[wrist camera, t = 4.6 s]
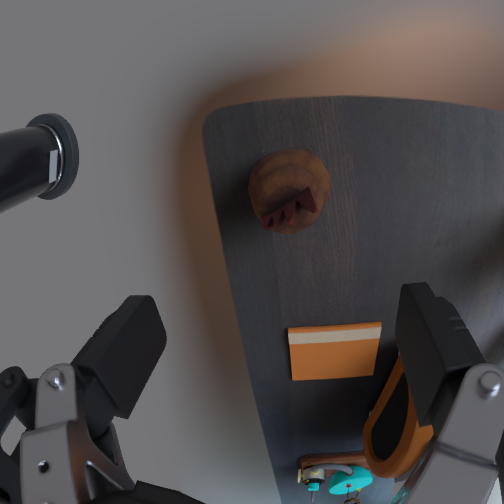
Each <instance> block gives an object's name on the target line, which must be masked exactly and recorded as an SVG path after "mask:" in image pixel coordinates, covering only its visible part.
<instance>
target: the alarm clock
mask: <svg viewBox="0 0 504 504" xmlns="http://www.w3.org/2000/svg"><path fill="white" fill-rule="evenodd" d="M398 355H399V357H398V359H397V361H396V363H395V366H394V368H393V370H392V372H391V374H390V376H389V379H388V381H387V383H386V385H385V387H384V389H383V391H382V393H381V395H380V397H379V399H378V401H377V403H376V405H375V406H374V408H373V410H372V411H370V413H369V418H368V419H367V421H366V423H365V425H364V429H363V446H364V454H365V458H366V461H367V464H368V466H369V468H370V470H371V472H372V473H373V474H375V475H376V476H378V477H382V478H394V479H395V483H403V482H406V480H407V479H408V477H409V475H410V474H411V472H412V471H413V469H414V467H415V466H416V464H417V462H418V461H419V459H420V457H421V455H422V454H423V452H424V450H425V448H426V446H427V445H428V443H429V441H430V439H431V437H432V436H433V434H434V432H433V428H432V425H429V426H424V427H419V424H418V420H417V415H416V411H415V407H414V403H413V399H412V395H411V391H410V388H409V384H408V380H407V377H406V373H405V370H404V366H403V363H402V359H401V356H400V353H399V352H398Z"/></svg>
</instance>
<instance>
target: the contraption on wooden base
mask: <svg viewBox="0 0 504 504" xmlns="http://www.w3.org/2000/svg"><path fill="white" fill-rule="evenodd" d="M299 468H300V469H299V471H298V483H300V477H303V482H302V483H303V484H305V485H308V490H309V491H312V494H311V502H314V491H317V490H319V485H320V484H323V483H324V482H325V480H324V478H325V476H330V475H333V477H332V479H331V482H330V486H329V492H330V493H332V494H345V493H348V495H347V498H348V500H346V501H345V502H344V504H347V503H348V502H351V501H356V503H354V504H359V499H357V497H358V494H359V490H360V489H361V488H363V487H365V486H367V485H369V484H370V483H371V482H372V481H373V478H372V476H371V473H370V472H369V471H368V470H370V468H369V466H368V464H367V461H366V458H365V454H364V451H355V452H345V453H332V454H313V455H305V456H304V457H302V458H300V459H299ZM301 473H302V474H303V475H301ZM355 490H356V491H357V490H358V493H357V496H356V498H351V499H350V498H349V492H352V491H355Z"/></svg>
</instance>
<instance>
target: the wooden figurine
mask: <svg viewBox="0 0 504 504" xmlns="http://www.w3.org/2000/svg"><path fill="white" fill-rule="evenodd" d="M330 190H331V182H330V177H329V172H328V171H327V169H326V167H325V166H324V164H323V162H322V161H321V159H320V158H319V157H318V156H316V155H315V154H313V153H312V152H310V151H309V150H305V149H290V150H283V151H279V152H276V153H272V154H270V155H268V156H266V157H264V158H262V159H260V160H259V161H258V162H257V164H256V165H255V167H254V169H253V170H252V172H251V174H250V177H249V185H248V191H249V194H250V198H251V202H252V205H253V208H254V212H255V215H256V216H257V217H258V219H259V220H260V221H261V222H262V224H263V226H264V227H265V229H266V230H267V231H268V230H270V229H271V230H273V231H276V232H280V233H290V234H294V233H297V232H300V231H302V230H304V229H306V228H307V227H309V226H310V225H311V224H313V223H314V222H315V221H316V219H317V218H318V217H319V215H320V214H321V212H322V208H323V207H324V206H325V204H326V203H327V202H328V200H329V196H330Z"/></svg>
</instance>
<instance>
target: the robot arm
mask: <svg viewBox="0 0 504 504" xmlns="http://www.w3.org/2000/svg"><path fill="white" fill-rule="evenodd" d="M65 164H66V155H65V148H64V144H63V141H62V138H61V136H60V135H59V133H58V132H57V130H56V129H55V128H54V127H52V126H51V125H49V124H38V125H34V126H31V127H26V128H21V129H16V130H13V131H8V132H4V133H0V214H1V213H3V212H5V211H7V210H9V209H11V208H13V207H15V206H17V205H19V204H21V203H23V202H25V201H27V200H29V199H31V198H34V197H36V196H38V195H40V194H42V193H46V192H48V191H51V190H53V189H54V188H56V187H57V186H58V184H59V183H60V181H61V179H62V177H63V174H64V171H65ZM395 336H396V343H397V346H398V350H399V353H400V356H401V359H402V363H403V366H404V370H405V373H406V377H407V380H408V384H409V388H410V391H411V395H412V399H413V403H414V407H415V411H416V415H417V420H418V424H419V427H424V426H429V425H432V428H433V432H434V434H433V436H432V437H431V439H430V441H429V443H428V445H427V446H426V448H425V450H424V452H423V454H422V455H421V457H420V459H419V461H418V462H417V464H416V466H415V467H414V469H413V471H412V472H411V474H410V475H409V477H408V479H407V480H406V482H405V483H404V485H403V486H402V488H401V489H400V491H399V492H398V493H397V495H396V496H395V497H394V498H393V500H392V501H391V502H390V504H486V503H487V501H488V499H489V496H490V494H491V491H492V489H493V487H494V484H495V481H496V479H497V476H498V477H499V483H500V489H501V496H502V504H504V370H503V369H502V368H500V367H498V366H496V365H494V364H489V363H486V362H485V360H484V358H483V356H482V354H481V352H480V350H479V348H478V346H477V345H476V343H475V341H474V339H473V337H472V336H471V334H470V332H469V330H468V329H466V325H465V324H464V322H463V320H462V319H460V315H459V314H458V312H457V310H456V309H455V307H454V306H453V305H452V304H451V303H450V302H448V301H447V300H446V299H444V298H443V297H435V295H434V293H433V292H432V290H431V288H430V287H429V285H428V284H427V283H426V282H421V283H411V284H403V285H402V288H401V292H400V300H399V307H398V313H397V320H396V327H395ZM166 338H167V337H166V331H165V328H164V326H163V323H162V320H161V317H160V315H159V312H158V309H157V307H156V304H155V301H154V299H153V298H152V297H151V296H149V295H131V296H129V297H128V298H127V299H126V300H125V301H124V302H123V304H122V305H121V306H120V307H119V308H118V310H116V311H115V312H114V313H112V314H111V315H109V316H108V317H107V318H106V319H105V320H104V321H103V323H102V324H101V325H100V326H99V329H97V330H96V331H95V333H94V334H93V337H91V338H90V339H89V340H88V341H87V343H86V344H85V345H84V346H83V348H82V349H81V350H80V352H79V353H78V354H77V355H76V357H75V358H74V359H73V361H72V362H71V363H70V365H69V364H66V363H61V364H57V365H54V366H52V367H50V368H48V369H47V370H46V371H45V372H44V373H43V374H42V375H41V376H40V378H36V379H28V378H27V376H26V375H25V373H24V372H23V370H22V369H21V368H20V367H17V366H13V367H10V368H7V369H6V370H4V371H3V372H1V373H0V440H1V437H2V435H3V433H4V432H5V430H6V428H7V427H8V425H9V423H10V422H11V420H12V419H13V417H14V416H16V417H17V418H18V420H19V421H20V422H21V423H22V424H23V425H24V426H25V427H26V428H27V429H26V430H25V432H23V433H22V435H21V439H20V441H19V443H18V444H17V446H16V448H15V450H14V451H13V453H12V455H11V456H9V455H7V454H6V453H5V452H4V451H3V449H2V447H1V444H0V504H205V503H203V502H201V501H198V500H196V499H194V498H192V497H189V496H187V495H185V494H183V493H181V492H179V491H176V490H171V489H168V488H163V487H160V486H156V485H152V484H149V483H145V482H142V481H138V480H137V482H136V485H135V483H134V482H133V480H132V479H131V478H130V476H129V474H128V473H127V470H126V468H125V464H124V460H123V457H122V454H121V450H120V446H119V442H118V438H117V434H116V430H115V426H114V424H113V423H112V422H111V421H112V419H113V417H114V416H117V417H120V418H124V419H128V418H129V416H130V414H131V412H132V410H133V408H134V406H135V404H136V402H137V401H138V398H139V397H140V395H141V393H142V391H143V389H144V387H145V385H146V383H147V381H148V379H149V377H150V375H151V373H152V371H153V369H154V368H155V366H156V364H157V362H158V360H159V358H160V356H161V355H162V353H163V351H164V349H165V346H166V341H167V339H166ZM494 458H495V462H496V464H494Z"/></svg>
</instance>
